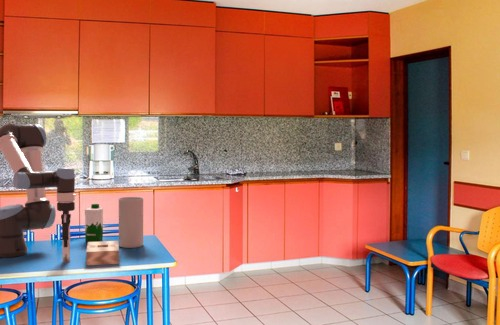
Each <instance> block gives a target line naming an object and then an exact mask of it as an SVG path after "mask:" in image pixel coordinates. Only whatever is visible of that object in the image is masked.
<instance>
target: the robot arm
mask: <svg viewBox="0 0 500 325" xmlns="http://www.w3.org/2000/svg"><path fill="white" fill-rule="evenodd" d="M47 138H48V136H47V132H46V130H45V128H44V127H43V126H42V125H41V124H35V123H7V124H4V125H2V126H0V152H2V154H3V156H4V157H5V160H6V161H7V164H8V165H9V167H10V168H11V170H12V172H13V173H14V174H13V177H12V178H13V179H12V183H13V186H14V187H15V189H17V190H26V196H27V200H26V202H25V203H24V205H23V204H20V203H17V204H9V205H5V206H2V207H0V258H14V257H20V256H24V255H27V254H28V252H29V250H28V246H27V243H26V241H25V238H24V237H25V236H24V231H33V230H43V229H48V228H49V229H50V228H51V227H52V226H53V225H54V223H55V221H56V216H57V215H56V212H57V211H58V212H62V213H61V215H60V219H61V226H62V227H61V232H62V235H61V238H60V241H62V240H63V254H69V226H70V227H71V225H70V224H71V218H72V217H71V216H72V214H71V213H70V212H72V211H75V208H76V207H75V206H76V205H75V204H76V203H75V199H76V198H75V197H76V196H77V194H75V185H76V184H75V181H76V180H75V177H76V175H75V169H74V168H73V167H57V170H56V169H55V170H46V171H45V170H43V162H42V151H43V150H44V147H45V146H46V145H47V141H48V139H47ZM46 188H56V202H57V203H56V208H55V205H54V204H51V201H50V199H49V198H47V196H46ZM56 210H57V211H56ZM70 238H72V235H70ZM63 254H62V255H63Z"/></svg>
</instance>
